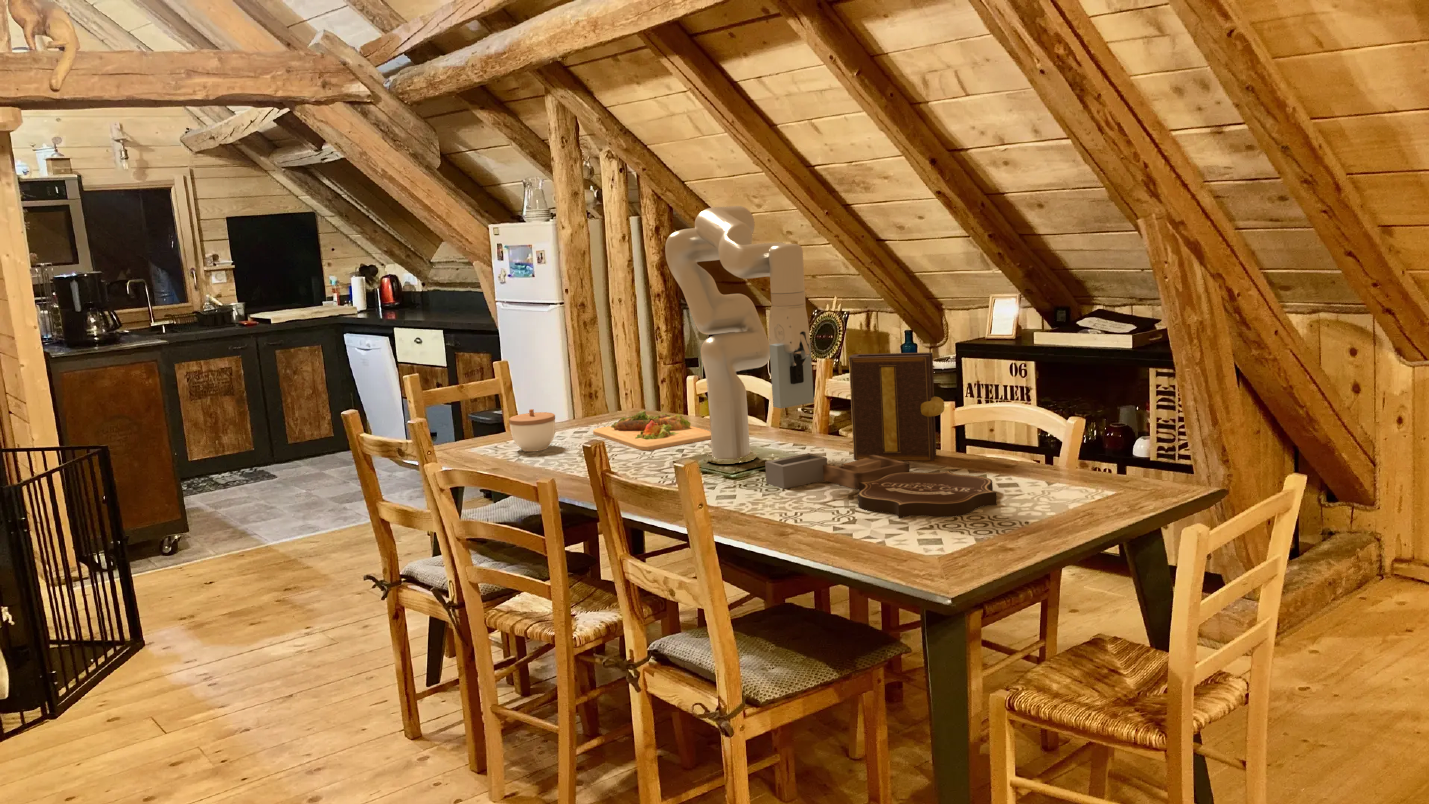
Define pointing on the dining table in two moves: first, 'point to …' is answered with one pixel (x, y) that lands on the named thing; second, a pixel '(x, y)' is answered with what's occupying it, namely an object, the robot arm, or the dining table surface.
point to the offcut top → (862, 465)
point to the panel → (781, 382)
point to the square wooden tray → (853, 478)
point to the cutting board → (652, 431)
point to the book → (894, 406)
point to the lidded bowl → (533, 430)
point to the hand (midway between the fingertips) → (792, 381)
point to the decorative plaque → (926, 494)
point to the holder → (795, 470)
